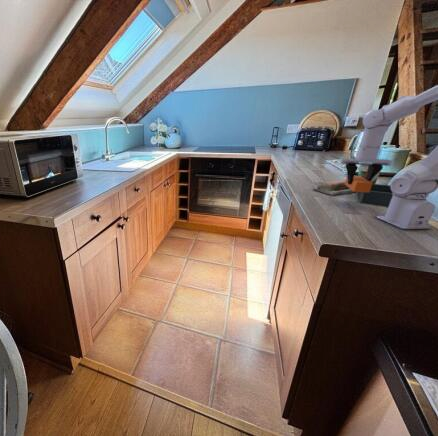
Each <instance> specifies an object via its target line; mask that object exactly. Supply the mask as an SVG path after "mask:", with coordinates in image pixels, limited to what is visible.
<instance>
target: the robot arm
mask: <svg viewBox="0 0 438 436" xmlns="http://www.w3.org/2000/svg"><path fill="white" fill-rule="evenodd" d="M436 101H438V84H437V85H434V86H433V87H431V88H429V89H426V90H425V91H423V92H421V93H419V94H417V95H413V94H412V95H411V94H410V95H402V96H400V97H398V100H396V101H394V102H391V103H390V104H385V105H383V106H382V107H381V108H380V109H378V108H374V109H370V110H369V111H367V112H366V113H365V115H364V116H363V118H362V125H363V127H364V130H363V132H362V136H361V139H360V143H359V147H358V149H357V152H356V156H355V157H341V158H340V159H339V163H338V164H340V165H345V169H346V173H347V176H348V184H351V183H352V181H353V178H354V176H356V172H357V170H358V168H359V166H360V165H368V172H367V176H366V178H365V179H366V180H368V181H370V182H371V180H372V179H373V178H374V176H375V175H376V174H377V173H378V172H379V171H380V172H381V171H382V170H383V168H384V166H386V167H392V164H393V160H391V159H384V158H378V156H379V153H380V150H381V147H382V144H383V141H384V139H385V135H386V133H387V132H388V131H389V128H390V126H392V125H393V124H394V123H395V122H397V121H400V120H402V119H404V118H406V117H409V116H411V115H415V114H417V112H419V110H420V109H421V107H423V106H427V105H428V104H431V103H433V102H436ZM357 165H359V166H357ZM382 165H383V167H382ZM390 188H391V191H392V192H393V193H392V195H393V196H392V199H391V202H390V204H389V206H387V210H386V213H385V215H377V216H376V218H377V219H379V220H381V221H384V222H385V223H388V224H390V225H393V226H395V227H398V228H400V229H402V230H423V229H424V230H426V229H429V228H430V227H429V226H428V225H429V222H430V220H431V219H432V216H433V214H434V212H435V205H434V203H433V202H431V201H429V200H428V199H427V198H429V195H430V194H432V193H434V192H435V191H437V189H438V145H436V147H435V148H434V149H433V150H432V151H431V152H430V153H429V154H428V155H427V156H426V157H425V158H424V159H423V160H422V161H421V162H420V163H418V164H417V165H414V166H412V167H411V168H409V169H406V170H405V171H404V172H403V173H401V174H400V175H398V176H396V177H394V178H393V179H392V181H391V182H390Z"/></svg>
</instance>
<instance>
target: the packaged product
mask: <svg viewBox="0 0 438 436" xmlns="http://www.w3.org/2000/svg"><path fill="white" fill-rule="evenodd" d="M345 181H346V178H345V179H335V180H334V179H333V180H326V181H325V180H324V181H319V182H318V185H317V187H316V186H315V187H312V190H313V191H316V192H320V193H322V194H326V195H330V196H336V195H346V194H347V195H349V194H352V193H355V192H354V191H353V190H351V189H350V188H349V187H347V186H346V185H345Z"/></svg>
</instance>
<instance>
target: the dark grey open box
mask: <svg viewBox="0 0 438 436" xmlns="http://www.w3.org/2000/svg"><path fill="white" fill-rule="evenodd" d="M390 185H391V184H390ZM390 185H389V184H380V183H376V184H372V186H371V189H370V192H369V193H366V192H357V195H358V199H359V201H360V203H361V204H368V205H375V206H383V207H389V204H390V202H391V199H392V196H393V195H392V193H393V192H392V191H391V188H390Z"/></svg>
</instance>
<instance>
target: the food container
mask: <svg viewBox="0 0 438 436" xmlns="http://www.w3.org/2000/svg"><path fill="white" fill-rule="evenodd" d="M382 167H383V168H384V165H382ZM357 170H358V173H357V176H361V177H363V178H364V179H365V178H366V176H367V172H368V165H359V166H358V168H357ZM380 173H381V171H379V172H378V173H377V174H376V175H375V176H374V178H373V179H372V180H371V183H373V184H377V181H378V178H379V177H380V175H381V174H380Z"/></svg>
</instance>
